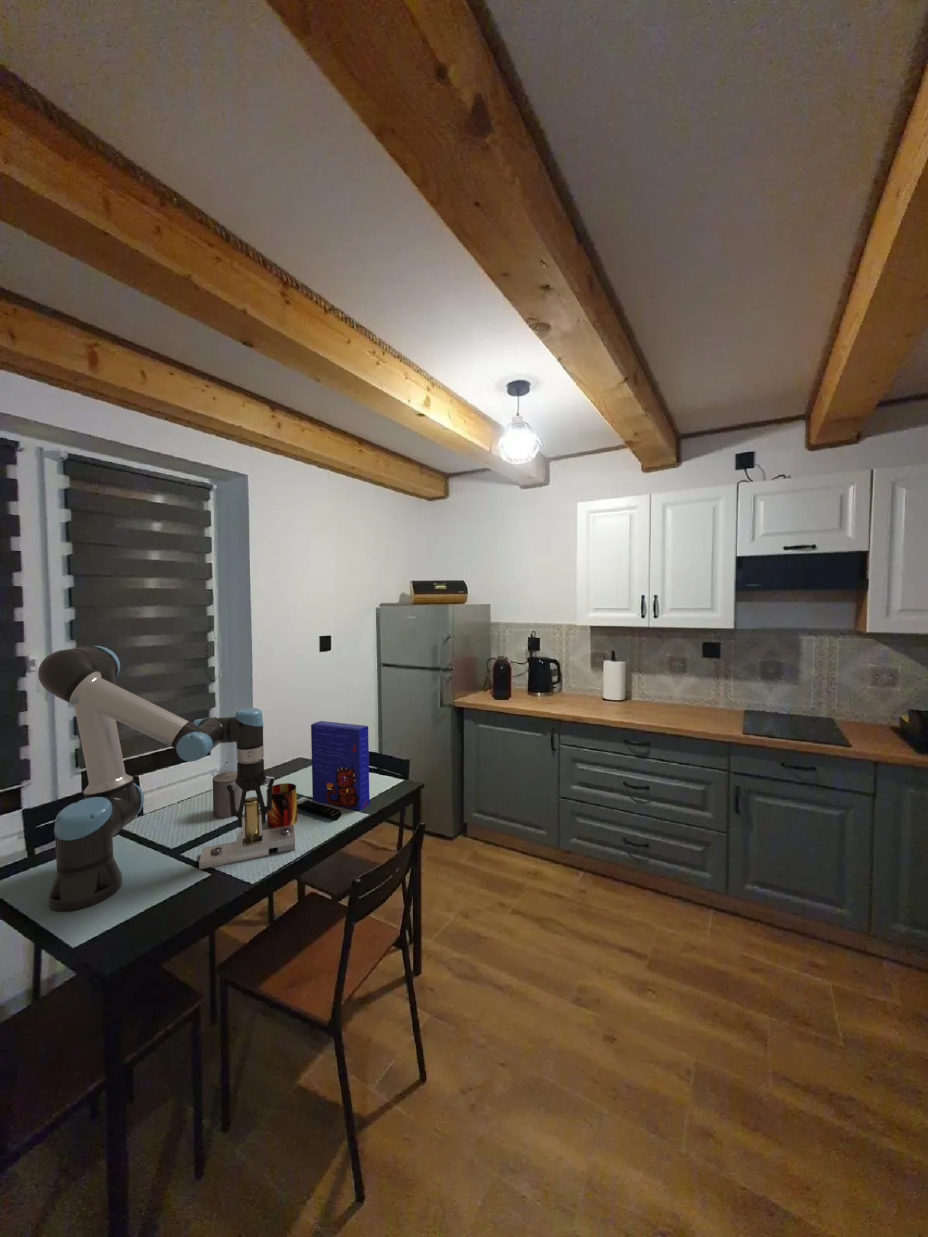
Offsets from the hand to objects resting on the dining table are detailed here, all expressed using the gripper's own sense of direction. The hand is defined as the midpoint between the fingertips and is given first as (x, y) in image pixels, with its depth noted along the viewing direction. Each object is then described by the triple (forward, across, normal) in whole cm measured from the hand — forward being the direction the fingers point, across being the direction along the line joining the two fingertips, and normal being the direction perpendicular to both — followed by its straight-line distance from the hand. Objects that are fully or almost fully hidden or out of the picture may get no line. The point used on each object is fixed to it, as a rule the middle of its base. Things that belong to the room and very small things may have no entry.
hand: (252, 835), depth 144 cm
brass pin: (+3, 0, 0) cm, 3 cm away
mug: (+5, +10, +15) cm, 19 cm away
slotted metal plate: (+5, 0, 0) cm, 5 cm away
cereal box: (+5, +30, +25) cm, 39 cm away
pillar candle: (+5, -9, +33) cm, 35 cm away
